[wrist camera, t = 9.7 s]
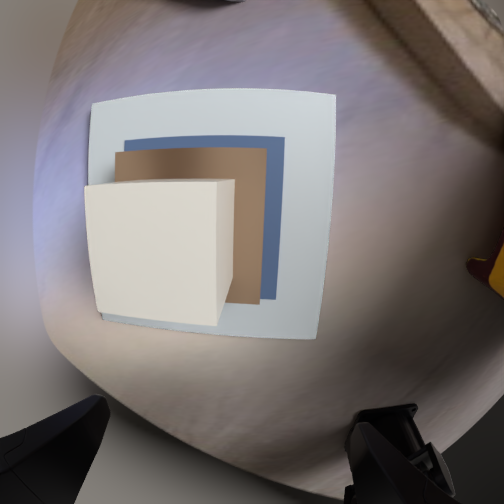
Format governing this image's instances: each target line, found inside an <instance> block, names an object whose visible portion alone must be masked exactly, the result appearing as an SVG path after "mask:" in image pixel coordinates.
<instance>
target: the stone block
mask: <svg viewBox="0 0 504 504" xmlns="http://www.w3.org/2000/svg"><path fill="white" fill-rule="evenodd" d="M226 1H234V2H244V1H246V0H226Z"/></svg>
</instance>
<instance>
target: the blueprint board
mask: <svg viewBox="0 0 504 504" xmlns="http://www.w3.org/2000/svg"><path fill="white" fill-rule="evenodd" d="M335 136H336V95H332V94H324V93H316V92H306V91H294V90H279V89H251V88H227V89H199V90H184V91H173V92H163V93H154V94H146V95H139V96H132V97H126V98H120V99H114V100H109V101H104V102H99V103H94V104H92V110H91V121H90V135H89V159H88V185H95V184H104V183H113V182H122V181H133V180H150V179H235V189H234V232H233V279H232V282H231V285H230V288H229V291H228V294H227V297H226V300H225V303H224V306H223V309H222V312H221V315H220V318H219V321H218V324H217V326H208V325H197V324H186V323H177V322H167V321H159V320H151V319H143V318H135V317H128V316H121V315H115V314H108V313H102V312H101V313H102V319H103V320H106V321H112V322H118V323H124V324H131V325H137V326H144V327H151V328H159V329H167V330H175V331H184V332H193V333H203V334H214V335H226V336H240V337H256V338H277V339H316V334H317V328H318V322H319V315H320V309H321V302H322V295H323V287H324V279H325V271H326V263H327V254H328V244H329V234H330V223H331V211H332V198H333V182H334V163H335Z"/></svg>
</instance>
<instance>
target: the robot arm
mask: <svg viewBox="0 0 504 504" xmlns="http://www.w3.org/2000/svg"><path fill="white" fill-rule="evenodd" d="M417 410H418V406H417V404H410V405H405V406H398V407H391V408H384V409H376V410H367V411H362V412H360V413H359V415H358V417H357V420H356V422H355V424H354V427H353V428H352V429H351V431H350V433H349V435H348V438H347V440H346V442H345V447H344V448H345V451H346V452H347V455H348V460H349V464H350V469H351V472H352V477H353V483H354V484H353V485H349V486H346V487H345V494H344V504H462V503H460V502H458V501H457V500H455V499H454V498H452V497H453V496H454V495H455V491H454V487H453V484H452V480H451V476H450V473H449V470H448V468H447V466H446V464H445V462H444V460H443V458H442V456H441V454H440V453H439V452H438V451H437V449H436V448H435V447H434V445H433V444H432V443H431V442H429V443H428V444H426V445H425V443H424V441H423V439H422V437H421V435H420V432H419V430H418V428H417V426H416V424H415V422H414V420H413V417H414V415H415V413H416V411H417ZM109 418H110V409H109V406H108V403H107V400H106V398H105V397H104V396H102V395H98V394H93V395H91V396H89V397H87V398H85V399H83V400H82V401H80V402H78V403H76V404H74V405H72V406H70V407H68V408H66V409H64V410H62V411H60V412H58V413H56V414H54V415H52V416H50V417H47V418H45V419H43V420H41V421H39V422H37V423H35V424H33V425H31V426H29V427H27V428H24V429H22V430H20V431H17V432H15V433H13V434H10V435H8V436H5V437H2V438H0V504H74V503H75V500H76V498H77V496H78V493H79V491H80V489H81V487H82V484H83V482H84V480H85V478H86V475H87V473H88V471H89V469H90V467H91V464H92V462H93V460H94V458H95V456H96V454H97V452H98V449H99V447H100V445H101V442H102V439H103V436H104V432H105V430H106V427H107V424H108V421H109ZM432 466H433V468H431V467H432ZM429 468H431V469H430V470H429Z"/></svg>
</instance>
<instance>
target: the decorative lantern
mask: <svg viewBox="0 0 504 504" xmlns="http://www.w3.org/2000/svg"><path fill="white" fill-rule="evenodd" d="M466 267H467V270H468V271H469V273H470V274H471V275H472V276H473V277H474V278H476V279H477V280H479V281H480V282H482V283H483V284H484V285H486V286H487V287H489V288H490V289H491V290H493V291H494V292H495V293H496V294H498V295H499V296H500V297H501V298H502V299H504V228H503V231H502V234H501V236H500V238H499V241H498V243H497V245H496V248H495V250H494V251H493V253H492V255H491V256H490V257H489V258H488V259H479V258H475V257H473V258H470V259H468V262H467V266H466Z"/></svg>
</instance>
